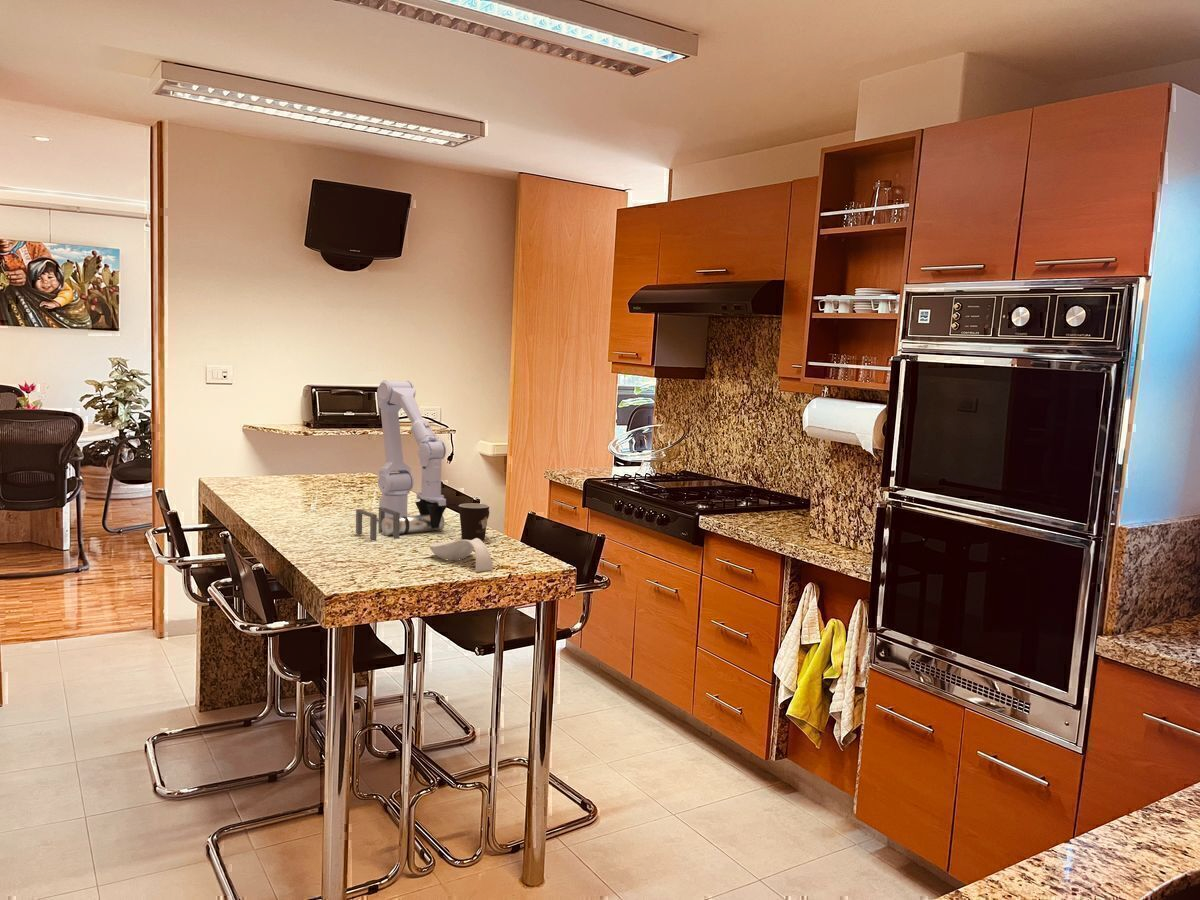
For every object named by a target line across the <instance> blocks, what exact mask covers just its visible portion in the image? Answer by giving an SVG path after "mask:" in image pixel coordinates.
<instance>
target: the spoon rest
mask: <svg viewBox="0 0 1200 900" xmlns="http://www.w3.org/2000/svg"><path fill="white" fill-rule="evenodd" d="M428 547H429V549H430V551H431V552H432V553H433V554H434V555H435V556H436V557H439V558H440V559H441V558H442V559H441V560H444V559H448V560H447V561H451V560H455V561H460V560H459V559H463V560H465V559H466V558H467V557H468V556H470V555H471V553H473V551H474V554H475V555H474V556H475V570H474V571H475V572H476V573H480V572H489V571H493V570H494V566H493V565H494V564H493V561H492V556H491V554H490V551H489V549H488V547H487V546H486V545H485V543H484V541H483V542H482V541H481V540H480V539H478V538H475V539H473V540H462V539H461V540H449V541H439V542H433V543H430V544H429V546H428ZM464 558H465V559H464Z"/></svg>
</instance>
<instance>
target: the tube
mask: <svg viewBox="0 0 1200 900" xmlns="http://www.w3.org/2000/svg"><path fill="white" fill-rule="evenodd" d="M445 523H446V522H445V517H444V515H442V517H441V521H440V524H439V528H431V521H430V514H427V515H420V514H419V515H407V516H403V517H400V525H399V535H406V534H414V533H425V532H426V533H427V532H436V531H442V530H443V529H444V528H445ZM381 528H382V532H383V533H382V534H383V536H393V518H384V519H383V520H382V523H381ZM435 530H436V531H435Z"/></svg>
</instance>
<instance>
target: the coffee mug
mask: <svg viewBox="0 0 1200 900" xmlns="http://www.w3.org/2000/svg"><path fill="white" fill-rule="evenodd" d="M458 510H459V511H458V512H459V521H460V522H459V523H460V533H461V540H473V539H475V538H478V539H480V540H481V541H483V540H484V541H485V539H486V532H487V527H488V526H487V525H488V519H489V516H490V505H488V504H486V503H473V502H472V503H469V502H467V503H461V504H459V505H458ZM484 541H483V542H484Z"/></svg>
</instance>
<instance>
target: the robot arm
mask: <svg viewBox="0 0 1200 900" xmlns="http://www.w3.org/2000/svg"><path fill="white" fill-rule="evenodd" d="M376 391H377V401H378V408H379V409H380V416H381V418H380V419H381V425H382V427H381V428H382V435H383V436H382V437H383V438H382V439H383V446H384V448H383V449H384V457H385V463H384V464H383V465H382V467H380V469H379V470H378V481H377V485H378V490H379V491H380V492H381V494H382V495H380V497H379V499H378V500H379V501H378V502H379V503H378V504H379V505H378V508H379V507H383V508H386V509H389V510H393V511H396V512H399V513H400V517H403V516H408V494H409V495H410V493H411V491H412V489H413V488H414V485H415V480H414V477H413V475H412V471H411V469H412V468H411V467H410V466H409V465H408V464H406V463H405V462H404V457H403V447H402V445H403V444H402V436H401V435H402V434H401V427H400V417H399V412H400V411H401V409H403V411H404V413H405V415H406V416H407V418H408V420H409V421H410V423H411V427H410V432H411V433H412V435H413V438H414V439H415V442H416V444H417V446H418V449H417V455H418V458H419V465H420V466H421V489H420V490H421V492H416V500H418V501H415V502H414V503H415V506H416V507H417V509H418V513H419V515H427V514H430V521H431V528H439V524H440V521H441V517H442V515H443V514H444V512H445V510H446V509H447V499H446V498H445V495H444V494H442V460H443V459H444V458H445V457H446V455H447V447H446V445H445V442H444V441H443V440H441V439H440V438H439V437H436V435H435V433H434V430H433V429H432V427H431V425H430V423H429V421H428V420H426V419H425V420H424V419H423V416H422V414H421V411H420V409H419V406H418V404H417V402H416V399H415V398H416V394H417V393H416V392H417V391H416V389H415V387H414V384H413V382H412V381H410V380H382V381H381V382H380V383H379V386H378V387H377V389H376ZM443 516H444V515H443ZM385 518H393V515H391V514H388V513H386V512H385ZM377 521H378V522H379V517H377Z"/></svg>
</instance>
